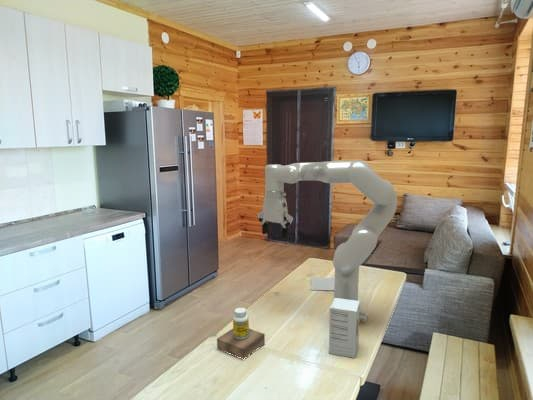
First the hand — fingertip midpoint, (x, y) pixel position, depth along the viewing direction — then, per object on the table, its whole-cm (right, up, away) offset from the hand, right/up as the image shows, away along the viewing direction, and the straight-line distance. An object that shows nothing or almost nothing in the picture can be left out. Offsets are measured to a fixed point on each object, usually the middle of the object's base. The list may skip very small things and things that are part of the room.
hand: (274, 235), depth 160 cm
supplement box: (+24, -38, -25) cm, 51 cm away
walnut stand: (-13, -38, -23) cm, 46 cm away
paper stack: (+30, -29, +29) cm, 51 cm away
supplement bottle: (-12, -34, -23) cm, 43 cm away
